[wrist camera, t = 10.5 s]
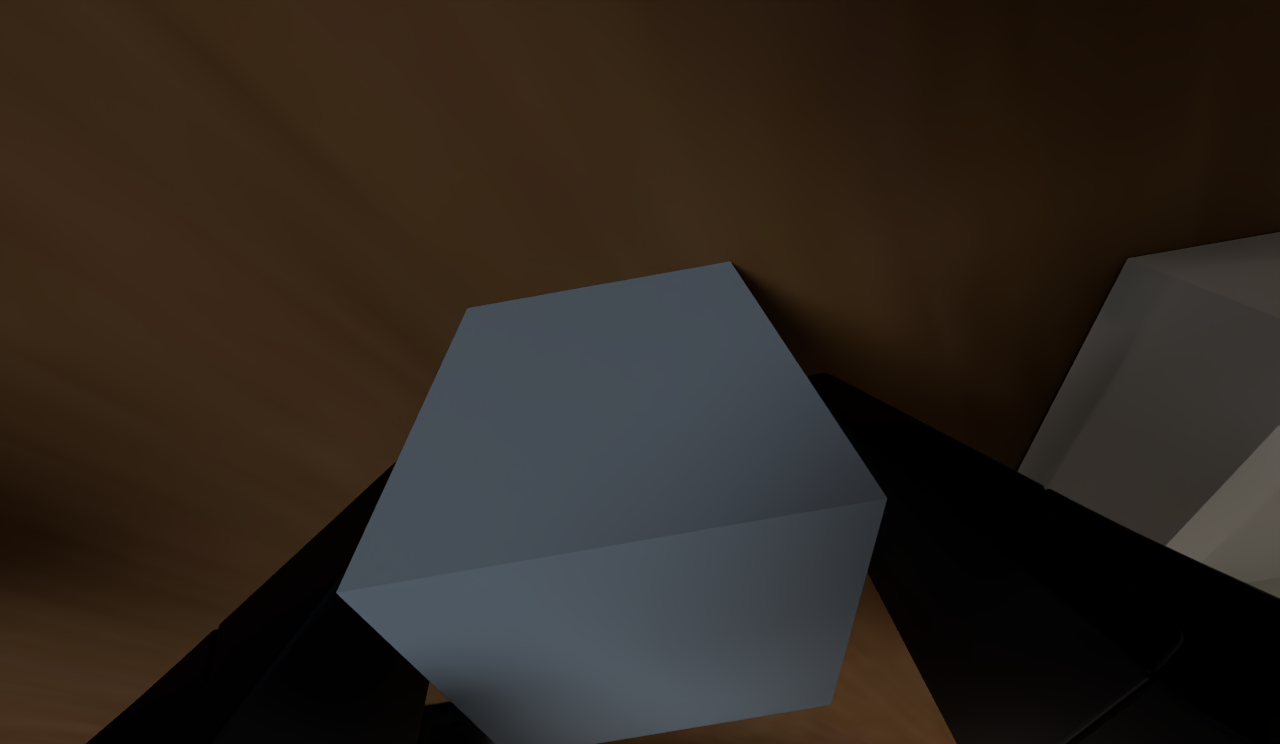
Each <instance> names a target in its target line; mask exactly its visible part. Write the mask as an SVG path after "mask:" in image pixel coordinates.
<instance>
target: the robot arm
mask: <svg viewBox="0 0 1280 744" xmlns="http://www.w3.org/2000/svg"><path fill="white" fill-rule="evenodd" d="M807 378H808V379H809V381H810V382H811V384H812V385H813V387H814V388H815V390H816V391H817V393H818V394H819V396H820V397H821V399H822V401H823V402H824V404H825V405H826V407H827V408H828V410H829V411H830V413H831V414H832V416H833V417H834V419H835V420H836V422H837V423H838V425H839V426H840V428H841V429H842V431H843V432H844V434H845V435H846V437H847V438H848V440H849V441H850V443H851V444H852V446H853V447H854V449H855V450H856V452H857V453H858V455H859V456H860V458H861V459H862V461H863V462H864V464H865V465H866V467H867V468H868V470H869V471H870V473H871V474H872V476H873V477H874V479H875V480H876V482H877V483H878V485H879V487H880V488H881V490H882V491H883V493H884V494H885V496H886V497H887V501H886V505H885V509H884V512H883V516H882V520H881V523H880V527H879V531H878V534H877V538H876V542H875V545H874V549H873V553H872V556H871V560H870V564H869V567H868V571H867V572H868V574H869V576H870V578H871V580H872V582H873V584H874V586H875V588H876V590H877V591H878V593H879V595H880V597H881V599H882V601H883V603H884V605H885V607H886V609H887V611H888V613H889V614H890V616H891V618H892V620H893V622H894V624H895V626H896V628H897V630H898V632H899V634H900V636H901V637H902V639H903V641H904V643H905V645H906V647H907V649H908V651H909V653H910V655H911V657H912V659H913V660H914V662H915V664H916V666H917V668H918V670H919V672H920V674H921V676H922V678H923V680H924V682H925V683H926V685H927V687H928V689H929V691H930V693H931V695H932V697H933V699H934V701H935V703H936V705H937V706H938V708H939V710H940V712H941V714H942V716H943V718H944V720H945V722H946V724H947V726H948V728H949V730H950V731H951V733H952V735H953V737H954V739H955V741H956V743H957V744H1280V598H1278V597H1276V596H1274V595H1271V594H1269V593H1267V592H1265V591H1263V590H1260V589H1258V588H1256V587H1254V586H1252V585H1249V584H1247V583H1245V582H1243V581H1241V580H1238V579H1236V578H1234V577H1232V576H1229V575H1227V574H1225V573H1223V572H1221V571H1218V570H1216V569H1214V568H1212V567H1210V566H1207V565H1205V564H1203V563H1201V562H1199V561H1196V560H1194V559H1192V558H1190V557H1188V556H1186V555H1184V554H1181V553H1179V552H1177V551H1175V550H1173V549H1171V548H1169V547H1167V546H1164V545H1162V544H1160V543H1158V542H1156V541H1154V540H1152V539H1149V538H1147V537H1145V536H1143V535H1141V534H1139V533H1137V532H1135V531H1133V530H1131V529H1129V528H1127V527H1125V526H1123V525H1121V524H1119V523H1117V522H1115V521H1113V520H1111V519H1109V518H1107V517H1105V516H1103V515H1101V514H1099V513H1097V512H1095V511H1093V510H1091V509H1089V508H1087V507H1085V506H1083V505H1081V504H1079V503H1077V502H1075V501H1073V500H1071V499H1069V498H1067V497H1065V496H1063V495H1062V494H1060V493H1058V492H1056V491H1054V490H1052V489H1046V490H1045V488H1044V486H1043V485H1042V484H1040V483H1038V482H1036V481H1034V480H1032V479H1030V478H1029V477H1027V476H1025V475H1023V474H1021V473H1019V472H1017V471H1015V470H1013V469H1011V468H1009V467H1007V466H1005V465H1004V464H1002V463H1000V462H998V461H996V460H994V459H992V458H990V457H988V456H986V455H984V454H982V453H981V452H979V451H977V450H975V449H973V448H971V447H969V446H967V445H965V444H963V443H961V442H959V441H957V440H956V439H954V438H952V437H950V436H948V435H946V434H944V433H942V432H940V431H938V430H936V429H934V428H933V427H931V426H929V425H927V424H925V423H923V422H921V421H919V420H917V419H915V418H913V417H911V416H910V415H908V414H906V413H904V412H902V411H900V410H898V409H896V408H894V407H892V406H890V405H888V404H886V403H885V402H883V401H881V400H879V399H877V398H875V397H873V396H871V395H869V394H867V393H865V392H863V391H862V390H860V389H858V388H856V387H854V386H852V385H850V384H848V383H846V382H844V381H842V380H840V379H839V378H837V377H835V376H833V375H831V374H828V373H820V374H815V375H809V376H807ZM396 462H397V461H396ZM396 462H395V463H394V464H393V465H392V466H391V467H389V468H388V469H387V470H386V471H385V472H384V473H383V474H382V475H381V476H380V477H379V478H378V479H376V480H375V481H374V482H373V483H372V484H371V485H370V486H369V487H368V488H367V489H366V490H365V491H363V492H362V493H361V494H360V495H359V496H358V497H357V498H356V499H355V500H354V501H353V502H352V503H351V504H349V505H348V506H347V507H346V508H345V509H344V510H343V511H342V512H341V513H340V514H339V515H338V516H336V517H335V518H334V519H333V520H332V521H331V522H330V523H329V524H328V525H327V526H326V527H325V528H323V529H322V530H321V531H320V532H319V533H318V534H317V535H316V536H315V537H314V538H313V539H312V540H310V541H309V542H308V543H307V544H306V545H305V546H304V547H303V548H302V549H301V550H300V551H299V552H298V553H296V554H295V555H294V556H293V557H292V558H291V559H290V560H289V561H288V562H287V563H286V564H285V565H283V566H282V567H281V568H280V569H279V570H278V571H277V572H276V573H275V574H274V575H273V576H272V577H270V578H269V579H268V580H267V581H266V582H265V583H264V584H263V585H262V586H261V587H260V588H259V589H257V590H256V591H255V592H254V593H253V594H252V595H251V596H250V597H249V598H248V599H247V600H246V601H244V602H243V603H242V604H241V605H240V606H239V607H238V608H237V609H236V610H235V611H234V612H233V613H231V614H230V615H229V616H228V617H227V618H226V619H225V620H224V621H223V622H222V623H221V624H220V625H219V628H218V629H217V630H213V631H212V632H211V633H210V634H209V635H208V636H206V637H205V638H204V639H203V640H202V641H201V642H200V643H199V644H198V645H197V646H196V647H195V648H194V649H192V650H191V651H190V652H189V653H188V654H187V655H186V656H185V657H184V658H183V659H182V660H180V661H179V662H178V663H177V664H176V665H175V666H174V667H173V668H172V669H170V670H169V671H168V672H167V673H166V674H165V675H164V676H163V677H162V678H161V679H159V680H158V681H157V682H156V683H155V684H154V685H153V686H152V687H151V688H149V689H148V690H147V691H146V692H145V693H144V694H143V695H142V696H141V697H139V698H138V699H137V700H136V701H135V702H134V703H133V704H131V705H130V706H129V707H128V708H127V709H126V710H124V711H123V712H122V713H121V714H120V715H119V716H118V717H116V718H115V719H114V720H113V721H112V722H111V723H109V724H108V725H107V726H106V727H105V728H104V729H102V730H101V731H100V732H99V733H98V734H97V735H95V736H94V737H93V738H92V739H91V740H90V741H88V742H87V743H86V744H495V743H494V742H493V741H492V740H491V739H490V738H489V737H488V736H487V735H486V734H485V733H484V732H483V731H482V730H481V729H479V728H478V727H477V726H476V725H475V724H474V723H473V722H472V721H471V720H470V719H469V718H468V717H467V716H466V715H465V714H464V713H463V712H462V711H460V710H459V709H458V708H457V707H456V706H452V707H446V708H440V709H434V710H428V711H423V710H424V705H425V700H426V695H427V690H428V686H429V680H428V679H427V678H426V677H425V676H423V675H422V674H421V673H420V672H419V671H418V670H417V669H416V668H415V667H414V666H413V665H412V664H411V663H410V662H409V661H408V660H407V659H405V658H404V657H403V656H402V655H401V654H400V653H399V652H398V651H397V650H396V649H395V648H394V647H393V646H392V645H391V644H390V643H389V642H387V641H386V640H385V639H384V638H383V637H382V636H381V635H380V634H379V633H378V632H377V631H376V630H375V629H374V628H373V627H372V626H371V625H370V624H368V623H367V622H366V621H365V620H364V619H363V618H362V617H361V616H360V615H359V614H358V613H357V612H356V611H355V610H354V609H353V608H352V607H350V606H349V605H348V604H347V603H346V602H345V601H344V600H343V599H342V598H341V597H340V596H339V595H338V594H337V593H336V592H337V590H338V588H339V586H340V583H341V581H342V579H343V577H344V575H345V573H346V570H347V568H348V566H349V564H350V562H351V560H352V557H353V555H354V553H355V551H356V549H357V547H358V544H359V542H360V540H361V538H362V536H363V533H364V531H365V529H366V527H367V525H368V523H369V520H370V518H371V516H372V514H373V512H374V510H375V507H376V505H377V503H378V501H379V499H380V497H381V494H382V492H383V490H384V488H385V486H386V484H387V481H388V479H389V477H390V475H391V473H392V471H393V468H394V466H395V464H396Z"/></svg>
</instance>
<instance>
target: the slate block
mask: <svg viewBox="0 0 1280 744" xmlns="http://www.w3.org/2000/svg"><path fill="white" fill-rule="evenodd" d="M886 501H887V497H886V496H885V494H884V493H883V491H882V490H881V488H880V487H879V485H878V483H877V482H876V480H875V479H874V477H873V476H872V474H871V473H870V471H869V470H868V468H867V467H866V465H865V464H864V462H863V461H862V459H861V458H860V456H859V455H858V453H857V452H856V450H855V449H854V447H853V446H852V444H851V443H850V441H849V440H848V438H847V437H846V435H845V434H844V432H843V431H842V429H841V428H840V426H839V425H838V423H837V422H836V420H835V419H834V417H833V416H832V414H831V413H830V411H829V410H828V408H827V407H826V405H825V404H824V402H823V401H822V399H821V397H820V396H819V394H818V393H817V391H816V390H815V388H814V387H813V385H812V384H811V382H810V381H809V379H808V378H807V376H806V375H805V373H804V372H803V370H802V369H801V367H800V366H799V364H798V363H797V361H796V360H795V358H794V357H793V355H792V354H791V352H790V351H789V349H788V348H787V346H786V345H785V343H784V342H783V340H782V339H781V337H780V336H779V334H778V333H777V331H776V330H775V328H774V327H773V325H772V324H771V322H770V321H769V319H768V318H767V316H766V315H765V313H764V311H763V310H762V308H761V307H760V305H759V304H758V302H757V301H756V299H755V298H754V296H753V295H752V293H751V292H750V290H749V289H748V287H747V286H746V284H745V283H744V281H743V280H742V278H741V277H740V275H739V274H738V272H737V271H736V269H735V268H734V266H733V265H732V263H731V262H725V263H719V264H713V265H708V266H702V267H696V268H691V269H685V270H680V271H674V272H668V273H663V274H657V275H652V276H646V277H640V278H635V279H629V280H623V281H618V282H612V283H607V284H601V285H595V286H590V287H584V288H578V289H573V290H567V291H562V292H556V293H550V294H545V295H539V296H534V297H528V298H522V299H517V300H511V301H505V302H500V303H494V304H489V305H483V306H477V307H472V308H467V310H466V312H465V315H464V317H463V319H462V321H461V323H460V325H459V328H458V330H457V332H456V334H455V336H454V338H453V341H452V343H451V345H450V347H449V349H448V351H447V354H446V356H445V358H444V360H443V362H442V364H441V367H440V369H439V371H438V373H437V375H436V377H435V380H434V382H433V384H432V386H431V388H430V390H429V393H428V395H427V397H426V399H425V401H424V403H423V406H422V408H421V410H420V412H419V414H418V416H417V419H416V421H415V423H414V425H413V427H412V429H411V432H410V434H409V436H408V438H407V440H406V442H405V445H404V447H403V449H402V451H401V453H400V455H399V458H398V460H397V462H396V464H395V466H394V468H393V471H392V473H391V475H390V477H389V479H388V481H387V484H386V486H385V488H384V490H383V492H382V494H381V497H380V499H379V501H378V503H377V505H376V507H375V510H374V512H373V514H372V516H371V518H370V520H369V523H368V525H367V527H366V529H365V531H364V533H363V536H362V538H361V540H360V542H359V544H358V547H357V549H356V551H355V553H354V555H353V557H352V560H351V562H350V564H349V566H348V568H347V570H346V573H345V575H344V577H343V579H342V581H341V583H340V586H339V588H338V590H337V592H336V593H337V594H338V595H339V596H340V597H341V598H342V599H343V600H344V601H345V602H346V603H347V604H348V605H349V606H350V607H352V608H353V609H354V610H355V611H356V612H357V613H358V614H359V615H360V616H361V617H362V618H363V619H364V620H365V621H366V622H367V623H368V624H370V625H371V626H372V627H373V628H374V629H375V630H376V631H377V632H378V633H379V634H380V635H381V636H382V637H383V638H384V639H385V640H386V641H387V642H389V643H390V644H391V645H392V646H393V647H394V648H395V649H396V650H397V651H398V652H399V653H400V654H401V655H402V656H403V657H404V658H405V659H407V660H408V661H409V662H410V663H411V664H412V665H413V666H414V667H415V668H416V669H417V670H418V671H419V672H420V673H421V674H422V675H423V676H425V677H426V678H427V679H428V680H429V681H430V682H431V683H432V684H433V685H434V686H435V687H436V688H437V689H438V690H439V691H440V692H441V693H442V694H444V695H445V696H446V697H447V698H448V699H449V700H450V701H451V702H452V703H453V704H454V705H455V706H456V707H457V708H458V709H459V710H460V711H462V712H463V713H464V714H465V715H466V716H467V717H468V718H469V719H470V720H471V721H472V722H473V723H474V724H475V725H476V726H477V727H478V728H479V729H481V730H482V731H483V732H484V733H485V734H486V735H487V736H488V737H489V738H490V739H491V740H492V741H493V742H494V743H495V744H598V743H604V742H610V741H616V740H622V739H628V738H634V737H640V736H646V735H652V734H658V733H664V732H670V731H676V730H682V729H688V728H694V727H700V726H706V725H712V724H718V723H724V722H730V721H736V720H742V719H748V718H754V717H760V716H766V715H772V714H778V713H784V712H790V711H796V710H802V709H808V708H814V707H820V706H826V705H831V703H832V699H833V695H834V692H835V688H836V684H837V681H838V677H839V673H840V670H841V666H842V662H843V659H844V655H845V651H846V648H847V644H848V640H849V637H850V633H851V629H852V626H853V622H854V618H855V615H856V611H857V607H858V604H859V600H860V596H861V593H862V589H863V585H864V582H865V578H866V574H867V571H868V567H869V564H870V560H871V556H872V553H873V549H874V545H875V542H876V538H877V534H878V531H879V527H880V523H881V520H882V516H883V512H884V509H885V505H886Z"/></svg>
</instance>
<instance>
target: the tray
mask: <svg viewBox="0 0 1280 744" xmlns="http://www.w3.org/2000/svg"><path fill="white" fill-rule="evenodd" d="M1017 472H1019V473H1021V474H1023V475H1025V476H1027V477H1029V478H1030V479H1032V480H1034V481H1036V482H1038V483H1040V484H1042V485H1043V486H1044V488H1045V490H1046V489H1052V490H1054V491H1056V492H1058V493H1060V494H1062V495H1063V496H1065V497H1067V498H1069V499H1071V500H1073V501H1075V502H1077V503H1079V504H1081V505H1083V506H1085V507H1087V508H1089V509H1091V510H1093V511H1095V512H1097V513H1099V514H1101V515H1103V516H1105V517H1107V518H1109V519H1111V520H1113V521H1115V522H1117V523H1119V524H1121V525H1123V526H1125V527H1127V528H1129V529H1131V530H1133V531H1135V532H1137V533H1139V534H1141V535H1143V536H1145V537H1147V538H1149V539H1152V540H1154V541H1156V542H1158V543H1160V544H1162V545H1164V546H1167V547H1169V548H1171V549H1173V550H1175V551H1177V552H1179V553H1181V554H1184V555H1186V556H1188V557H1190V558H1192V559H1194V560H1196V561H1199V562H1201V563H1203V564H1205V565H1207V566H1210V567H1212V568H1214V569H1216V570H1218V571H1221V572H1223V573H1225V574H1227V575H1229V576H1232V577H1234V578H1236V579H1238V580H1241V581H1243V582H1245V583H1247V584H1249V585H1252V586H1254V587H1256V588H1258V589H1260V590H1263V591H1265V592H1267V593H1269V594H1271V595H1274V596H1276V597H1278V598H1280V232H1276V233H1271V234H1265V235H1259V236H1253V237H1248V238H1242V239H1236V240H1230V241H1225V242H1219V243H1213V244H1207V245H1202V246H1196V247H1190V248H1184V249H1179V250H1173V251H1167V252H1161V253H1156V254H1150V255H1144V256H1138V257H1133V258H1128V259H1127V260H1126V262H1125V264H1124V266H1123V268H1122V270H1121V272H1120V274H1119V276H1118V278H1117V280H1116V282H1115V284H1114V286H1113V288H1112V289H1111V291H1110V293H1109V295H1108V297H1107V299H1106V301H1105V303H1104V305H1103V307H1102V309H1101V311H1100V313H1099V315H1098V317H1097V318H1096V320H1095V322H1094V324H1093V326H1092V328H1091V330H1090V332H1089V334H1088V336H1087V338H1086V340H1085V342H1084V344H1083V346H1082V348H1081V349H1080V351H1079V353H1078V355H1077V357H1076V359H1075V361H1074V363H1073V365H1072V367H1071V369H1070V371H1069V373H1068V375H1067V377H1066V378H1065V380H1064V382H1063V384H1062V386H1061V388H1060V390H1059V392H1058V394H1057V396H1056V398H1055V400H1054V402H1053V404H1052V406H1051V407H1050V409H1049V411H1048V413H1047V415H1046V417H1045V419H1044V421H1043V423H1042V425H1041V427H1040V429H1039V431H1038V433H1037V435H1036V436H1035V438H1034V440H1033V442H1032V444H1031V446H1030V448H1029V450H1028V452H1027V454H1026V456H1025V458H1024V460H1023V462H1022V464H1021V465H1020V467H1019V469H1018V471H1017Z"/></svg>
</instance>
